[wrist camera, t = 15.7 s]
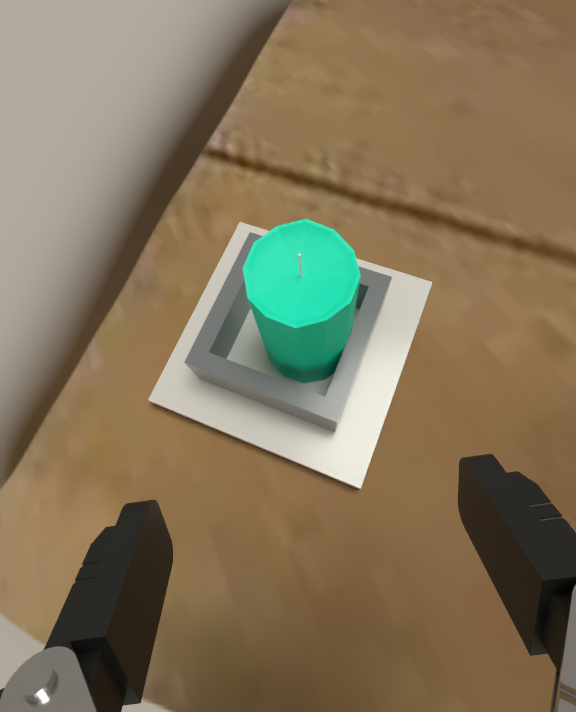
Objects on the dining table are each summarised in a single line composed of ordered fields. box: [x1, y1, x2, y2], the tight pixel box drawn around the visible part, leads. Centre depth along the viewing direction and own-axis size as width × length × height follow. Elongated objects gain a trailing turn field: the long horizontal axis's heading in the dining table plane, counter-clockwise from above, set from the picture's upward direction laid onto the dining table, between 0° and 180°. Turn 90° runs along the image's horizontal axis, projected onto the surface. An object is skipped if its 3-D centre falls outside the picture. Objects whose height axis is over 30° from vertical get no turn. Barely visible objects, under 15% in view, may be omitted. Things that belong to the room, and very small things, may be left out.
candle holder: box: [148, 222, 432, 489], centre depth 31 cm, size 16×16×5 cm
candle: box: [243, 219, 361, 384], centre depth 26 cm, size 6×6×12 cm
